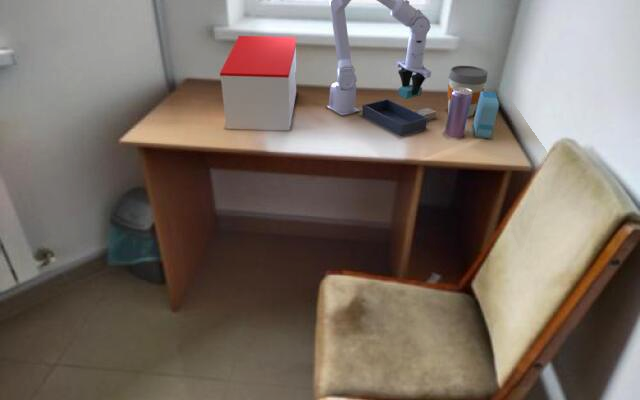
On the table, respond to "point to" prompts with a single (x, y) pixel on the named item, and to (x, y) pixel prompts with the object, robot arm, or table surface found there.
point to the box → (394, 117)
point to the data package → (486, 114)
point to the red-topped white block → (260, 83)
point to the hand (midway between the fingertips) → (410, 92)
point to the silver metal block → (427, 113)
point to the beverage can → (458, 112)
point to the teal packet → (408, 92)
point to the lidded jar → (467, 83)
